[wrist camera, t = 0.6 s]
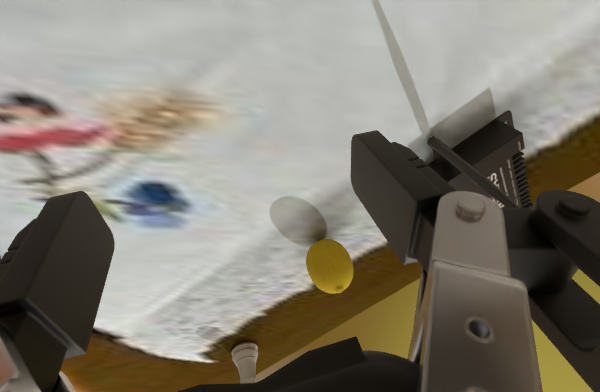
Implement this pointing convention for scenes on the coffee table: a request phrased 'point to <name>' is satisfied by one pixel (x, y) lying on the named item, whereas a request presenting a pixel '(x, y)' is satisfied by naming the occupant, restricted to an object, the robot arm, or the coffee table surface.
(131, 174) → the coffee table surface
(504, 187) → the black wireless router
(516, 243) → the robot arm
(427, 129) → the coffee table surface
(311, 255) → the lemon
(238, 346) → the rook chess piece
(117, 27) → the coffee table surface
